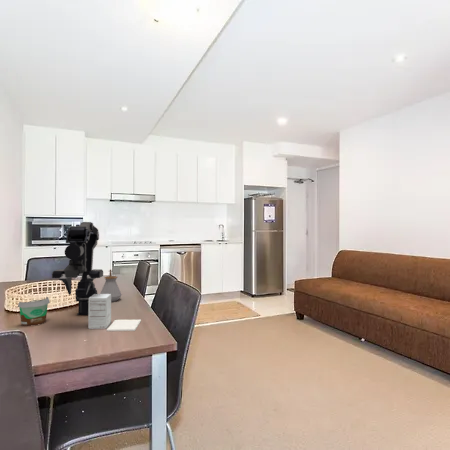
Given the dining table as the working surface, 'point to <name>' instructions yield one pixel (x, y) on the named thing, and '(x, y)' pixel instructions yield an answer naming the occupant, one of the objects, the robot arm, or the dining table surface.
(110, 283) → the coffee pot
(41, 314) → the food container
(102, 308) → the supplement box
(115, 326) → the white flat slab
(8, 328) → the dining table surface
